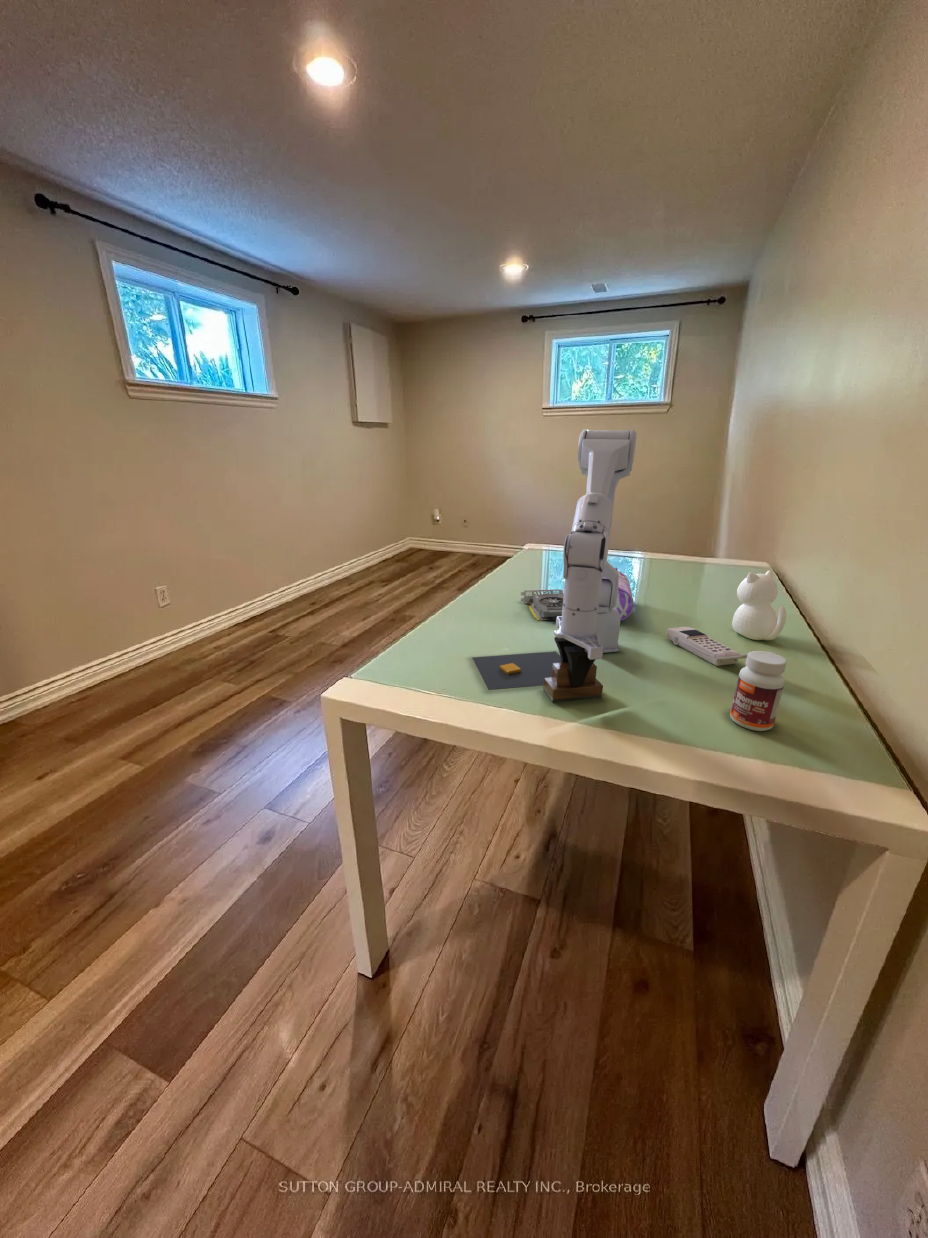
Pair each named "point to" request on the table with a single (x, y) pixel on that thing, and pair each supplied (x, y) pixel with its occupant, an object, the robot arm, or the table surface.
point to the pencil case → (624, 597)
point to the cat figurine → (758, 608)
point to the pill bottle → (759, 691)
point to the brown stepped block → (562, 689)
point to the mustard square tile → (510, 668)
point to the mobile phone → (704, 646)
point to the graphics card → (544, 604)
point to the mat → (530, 675)
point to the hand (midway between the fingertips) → (573, 680)
